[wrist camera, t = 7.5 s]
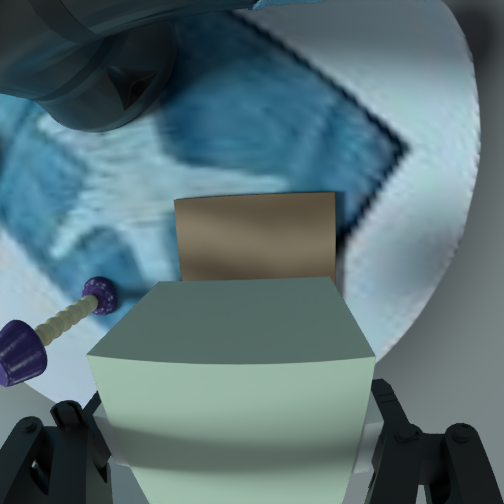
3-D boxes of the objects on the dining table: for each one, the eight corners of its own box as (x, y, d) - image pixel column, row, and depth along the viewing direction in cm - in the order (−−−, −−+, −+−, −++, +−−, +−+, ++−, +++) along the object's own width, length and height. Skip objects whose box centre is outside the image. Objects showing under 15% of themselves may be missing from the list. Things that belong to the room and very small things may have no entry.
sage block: (159, 281, 15) (86, 355, 8) (329, 276, 14) (375, 356, 7) (182, 410, 16) (149, 502, 10) (321, 409, 16) (339, 508, 9)
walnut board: (177, 199, 28) (173, 200, 27) (332, 192, 27) (334, 192, 26) (192, 338, 31) (190, 343, 30) (330, 334, 30) (332, 339, 29)
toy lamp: (77, 298, 31) (-23, 372, 15) (87, 263, 30) (-26, 328, 14) (111, 320, 31) (21, 412, 15) (123, 286, 30) (21, 372, 14)
